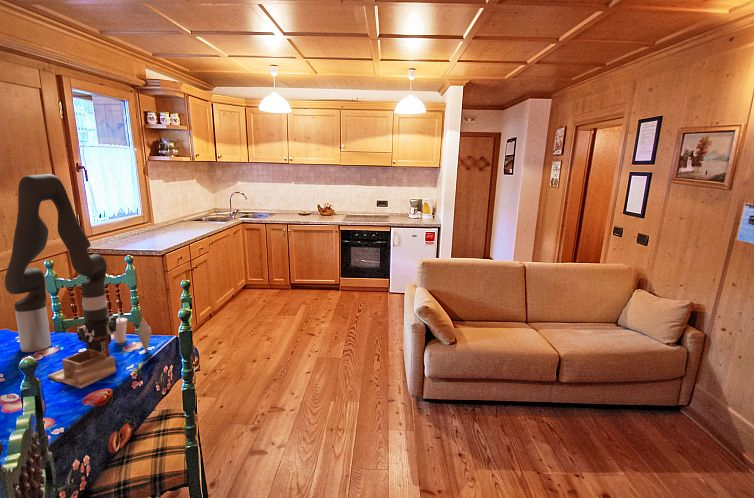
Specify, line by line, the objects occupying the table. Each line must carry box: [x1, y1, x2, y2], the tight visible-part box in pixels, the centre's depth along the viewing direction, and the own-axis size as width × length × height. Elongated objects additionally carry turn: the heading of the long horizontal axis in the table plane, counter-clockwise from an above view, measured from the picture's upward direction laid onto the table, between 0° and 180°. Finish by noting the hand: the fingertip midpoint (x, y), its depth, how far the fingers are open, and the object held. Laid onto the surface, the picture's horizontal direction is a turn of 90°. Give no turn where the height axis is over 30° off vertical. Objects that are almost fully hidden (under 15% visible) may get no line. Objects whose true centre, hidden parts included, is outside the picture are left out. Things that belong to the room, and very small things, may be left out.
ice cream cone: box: [136, 317, 153, 352], centre depth 152 cm, size 5×5×15 cm
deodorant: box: [88, 320, 111, 357], centre depth 145 cm, size 6×6×15 cm
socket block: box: [61, 349, 107, 380], centre depth 132 cm, size 9×9×6 cm
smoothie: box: [112, 310, 128, 344], centre depth 160 cm, size 6×6×14 cm
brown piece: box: [48, 355, 117, 389], centre depth 133 cm, size 17×12×6 cm
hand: (99, 346), depth 146 cm, fingers closed on deodorant, 6 cm apart
